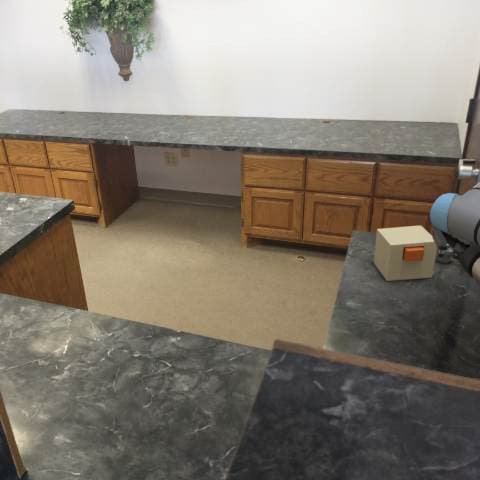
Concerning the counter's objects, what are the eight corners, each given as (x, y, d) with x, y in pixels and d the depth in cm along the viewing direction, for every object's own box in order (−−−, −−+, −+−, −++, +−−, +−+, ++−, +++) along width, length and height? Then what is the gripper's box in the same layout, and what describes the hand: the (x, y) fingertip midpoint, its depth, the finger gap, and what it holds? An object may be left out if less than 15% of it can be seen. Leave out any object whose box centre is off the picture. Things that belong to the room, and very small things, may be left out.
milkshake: (437, 265, 142) (442, 233, 138) (432, 256, 147) (437, 225, 142) (455, 266, 141) (461, 234, 136) (450, 257, 145) (455, 225, 141)
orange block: (419, 256, 135) (421, 246, 134) (423, 260, 133) (424, 249, 132) (402, 258, 135) (404, 247, 134) (406, 261, 134) (407, 251, 132)
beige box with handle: (416, 259, 146) (420, 225, 141) (432, 277, 137) (437, 241, 132) (373, 263, 147) (376, 228, 142) (387, 281, 138) (390, 245, 133)
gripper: (453, 285, 102) (404, 233, 123) (520, 279, 101) (459, 229, 122) (458, 252, 99) (407, 205, 120) (528, 246, 98) (464, 200, 119)
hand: (433, 217), depth 121 cm, fingers closed
